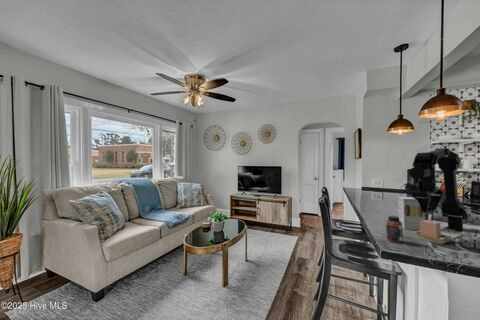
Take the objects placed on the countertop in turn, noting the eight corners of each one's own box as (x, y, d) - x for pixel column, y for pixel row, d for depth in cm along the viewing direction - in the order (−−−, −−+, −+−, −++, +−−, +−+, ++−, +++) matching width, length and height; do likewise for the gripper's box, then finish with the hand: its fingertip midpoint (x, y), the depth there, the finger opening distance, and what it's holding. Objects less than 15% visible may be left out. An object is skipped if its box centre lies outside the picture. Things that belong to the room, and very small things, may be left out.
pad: (435, 230, 108) (435, 229, 108) (462, 235, 99) (462, 234, 99) (426, 233, 104) (426, 231, 104) (453, 239, 95) (452, 237, 95)
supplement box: (404, 229, 111) (402, 198, 111) (398, 224, 119) (396, 196, 120) (426, 231, 107) (424, 199, 108) (418, 226, 115) (417, 196, 116)
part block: (425, 236, 99) (424, 219, 100) (441, 240, 94) (440, 222, 94) (420, 237, 98) (419, 220, 98) (437, 241, 92) (436, 223, 93)
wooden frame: (421, 233, 103) (421, 229, 103) (451, 240, 93) (450, 236, 93) (411, 236, 99) (411, 232, 99) (441, 244, 89) (441, 239, 89)
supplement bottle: (406, 243, 90) (404, 218, 91) (390, 242, 91) (389, 217, 92) (398, 239, 96) (397, 215, 96) (384, 238, 97) (383, 214, 98)
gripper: (417, 177, 108) (418, 206, 108) (397, 178, 100) (399, 210, 100) (444, 177, 98) (446, 210, 98) (425, 179, 90) (427, 214, 90)
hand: (429, 211), depth 97 cm, fingers open, 9 cm apart
